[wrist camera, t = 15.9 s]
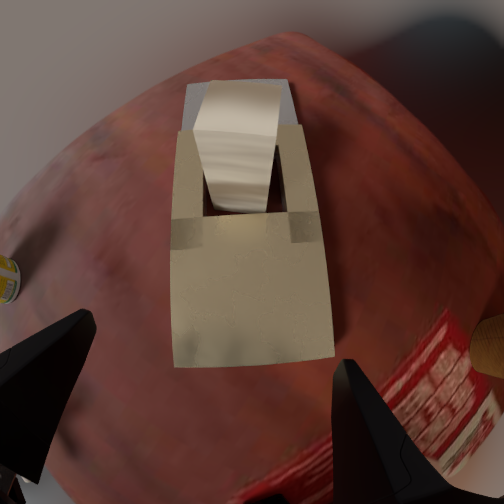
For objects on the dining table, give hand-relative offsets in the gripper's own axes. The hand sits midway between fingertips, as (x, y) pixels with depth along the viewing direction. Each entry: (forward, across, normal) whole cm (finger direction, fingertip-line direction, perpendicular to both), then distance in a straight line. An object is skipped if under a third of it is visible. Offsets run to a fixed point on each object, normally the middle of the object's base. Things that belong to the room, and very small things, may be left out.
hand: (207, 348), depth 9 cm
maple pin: (+19, +1, 0) cm, 19 cm away
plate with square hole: (+18, +1, 0) cm, 19 cm away
